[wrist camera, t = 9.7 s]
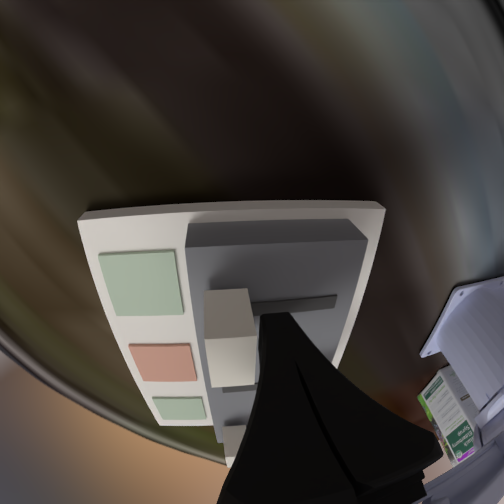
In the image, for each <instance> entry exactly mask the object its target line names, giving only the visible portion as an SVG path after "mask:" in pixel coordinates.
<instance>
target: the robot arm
mask: <svg viewBox="0 0 504 504" xmlns="http://www.w3.org/2000/svg"><path fill="white" fill-rule="evenodd" d="M440 351H441V352H442V353H443V354H444V356H445V357H446V359H447V360H448V362H449V363H450V365H451V366H452V368H453V370H454V371H455V373H456V374H457V376H458V377H459V379H460V381H461V382H462V384H463V385H464V387H465V389H466V390H467V392H468V393H469V395H470V397H471V398H472V400H473V402H474V404H475V405H476V407H477V409H478V410H479V412H480V413H479V414H478V415H477V416H476V417H475V418H474V419H475V421H476V422H477V424H476V426H475V429H474V436H473V447H474V451H475V453H474V454H473V455H471V456H470V457H468V458H467V459H466V460H464V461H463V462H461V463H460V464H458V465H457V466H455V467H453V468H452V469H450V470H449V471H447V472H446V473H444V474H442V475H441V476H439V477H437V478H435V479H434V480H432V481H430V482H428V483H426V484H425V485H423V483H422V479H424V478H425V476H424V473H423V469H425V468H427V467H428V466H430V465H431V464H433V463H434V462H436V461H437V460H439V459H440V458H441V457H442V456H443V451H442V449H441V446H440V444H439V442H438V440H437V438H436V437H435V435H434V433H432V432H430V431H428V430H425V429H423V428H421V427H419V426H417V425H414V424H412V423H410V422H408V421H407V420H405V419H403V418H401V417H399V416H398V415H396V414H394V413H393V412H391V411H390V410H388V409H386V408H385V407H383V406H382V405H380V404H379V403H377V402H376V401H375V400H373V399H372V398H370V397H369V396H368V395H366V394H365V393H364V392H363V391H361V390H360V389H359V388H358V387H356V386H355V385H354V384H353V383H352V382H351V381H349V380H348V379H347V378H346V377H345V376H344V375H343V374H342V373H341V372H340V371H339V370H338V369H337V368H336V367H335V366H334V365H333V364H332V363H331V362H330V361H329V360H328V359H327V358H326V357H325V356H324V355H323V354H322V352H321V351H320V350H319V349H318V348H317V347H316V346H315V344H314V343H313V342H312V341H311V340H310V338H309V337H308V336H307V335H306V333H305V332H304V331H303V330H302V328H301V327H300V326H299V324H298V323H297V322H296V320H295V319H294V318H293V316H292V315H291V314H290V313H289V312H278V313H267V314H262V315H261V316H260V322H259V339H258V353H259V366H260V374H259V380H258V386H257V390H256V395H255V399H254V403H253V407H252V410H251V414H250V417H249V421H248V424H247V427H246V430H245V433H244V436H243V439H242V441H241V444H240V447H239V449H238V452H237V455H236V457H235V459H234V462H233V464H232V466H231V469H230V471H229V473H228V475H227V477H226V479H225V482H224V484H223V486H222V489H221V492H220V495H219V498H218V501H217V504H418V503H420V502H422V501H423V502H422V504H497V503H498V502H499V501H500V499H501V498H502V497H503V496H504V276H502V277H498V278H494V279H490V280H486V281H482V282H477V283H473V284H468V285H464V286H459V287H456V288H455V289H454V290H453V291H452V293H451V296H450V298H449V300H448V302H447V304H446V306H445V308H444V310H443V312H442V314H441V316H440V318H439V320H438V322H437V324H436V326H435V327H434V329H433V331H432V333H431V335H430V336H429V338H428V340H427V342H426V343H425V345H424V347H423V349H422V350H421V352H420V356H421V357H426V356H429V355H432V354H434V353H437V352H440Z"/></svg>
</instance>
